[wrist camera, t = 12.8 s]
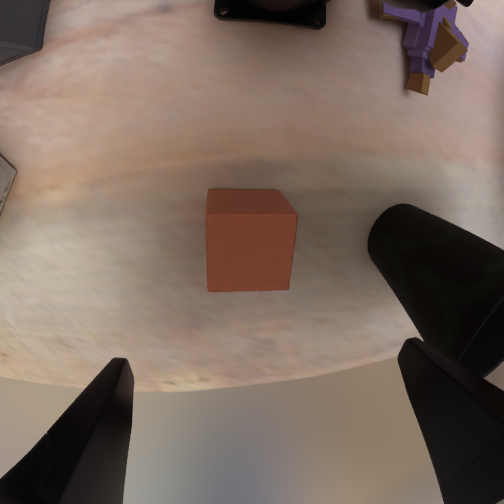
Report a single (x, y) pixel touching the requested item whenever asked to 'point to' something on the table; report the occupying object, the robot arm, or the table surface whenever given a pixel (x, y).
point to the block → (249, 240)
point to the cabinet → (21, 27)
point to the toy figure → (429, 41)
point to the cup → (444, 283)
